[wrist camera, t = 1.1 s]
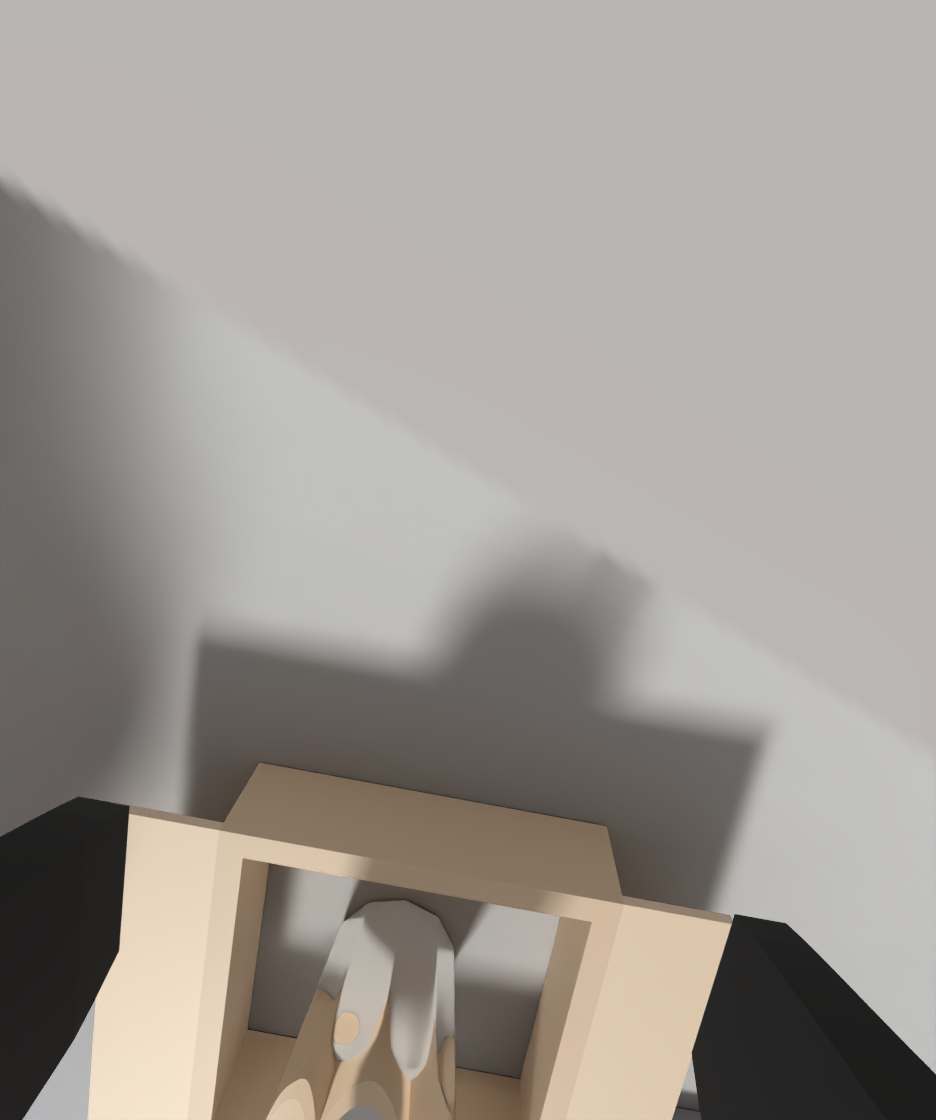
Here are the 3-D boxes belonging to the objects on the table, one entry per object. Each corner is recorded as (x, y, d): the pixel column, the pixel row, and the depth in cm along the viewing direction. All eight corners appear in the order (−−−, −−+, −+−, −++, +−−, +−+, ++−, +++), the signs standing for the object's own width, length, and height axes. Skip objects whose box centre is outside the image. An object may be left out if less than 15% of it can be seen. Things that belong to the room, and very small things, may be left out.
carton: (620, 1114, 23) (638, 1225, 20) (140, 1026, 23) (87, 1125, 20) (700, 843, 20) (733, 924, 18) (164, 744, 20) (108, 810, 17)
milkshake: (533, 941, 21) (559, 1423, 12) (391, 1041, 22) (307, 1559, 13) (421, 829, 21) (349, 1246, 11) (279, 938, 22) (101, 1406, 12)
